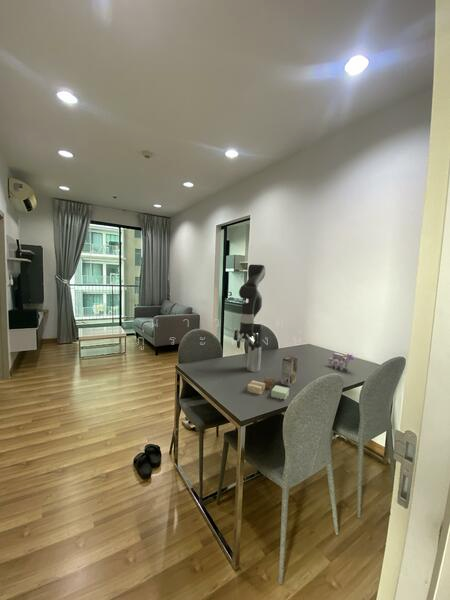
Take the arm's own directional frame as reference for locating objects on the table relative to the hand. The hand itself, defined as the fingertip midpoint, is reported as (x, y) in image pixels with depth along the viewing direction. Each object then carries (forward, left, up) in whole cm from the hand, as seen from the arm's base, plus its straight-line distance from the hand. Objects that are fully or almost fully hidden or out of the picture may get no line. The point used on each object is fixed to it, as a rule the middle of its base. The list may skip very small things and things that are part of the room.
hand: (245, 349), depth 150 cm
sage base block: (-6, +21, -25) cm, 33 cm away
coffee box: (-27, +21, -25) cm, 42 cm away
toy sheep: (-76, +51, -25) cm, 95 cm away
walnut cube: (-14, +12, -25) cm, 31 cm away
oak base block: (-5, +7, -25) cm, 27 cm away
